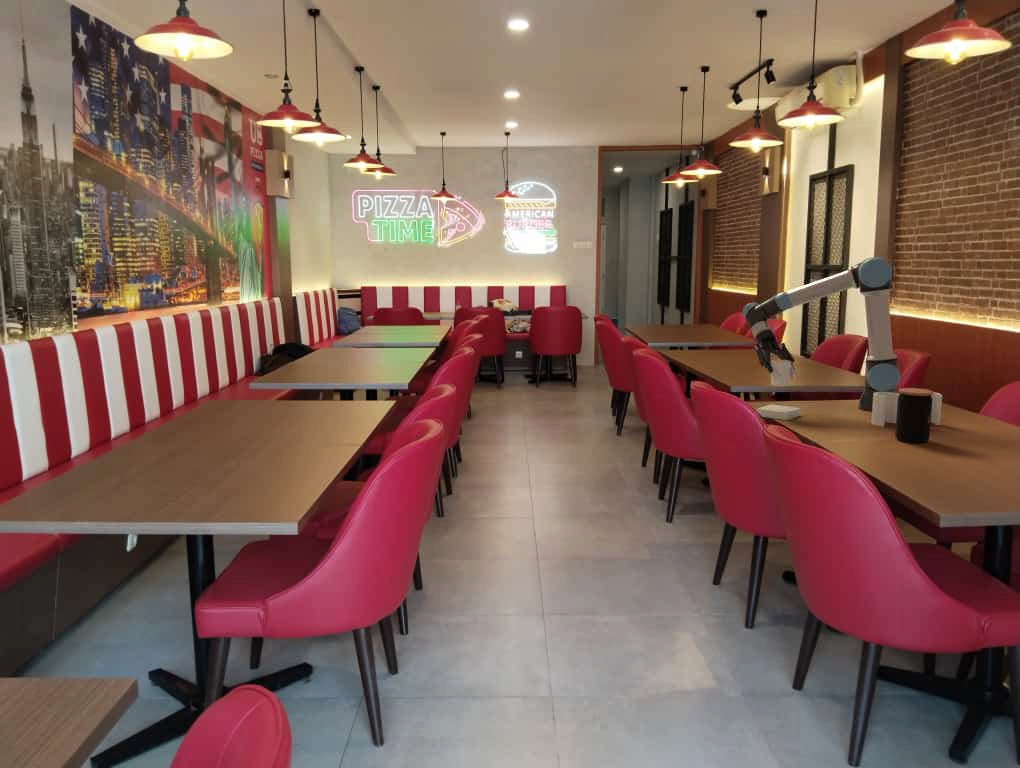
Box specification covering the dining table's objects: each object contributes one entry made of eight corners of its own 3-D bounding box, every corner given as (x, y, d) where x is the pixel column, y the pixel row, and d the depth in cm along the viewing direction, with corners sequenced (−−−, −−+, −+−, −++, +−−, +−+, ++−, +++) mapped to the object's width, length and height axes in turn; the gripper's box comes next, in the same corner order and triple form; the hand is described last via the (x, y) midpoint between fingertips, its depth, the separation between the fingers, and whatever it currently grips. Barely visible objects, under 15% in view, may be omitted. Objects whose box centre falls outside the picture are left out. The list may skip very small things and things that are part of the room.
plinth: (800, 415, 308) (800, 408, 307) (787, 420, 298) (787, 413, 298) (770, 411, 317) (770, 404, 316) (756, 415, 307) (756, 408, 307)
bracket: (928, 421, 295) (931, 391, 293) (943, 426, 286) (945, 395, 284) (866, 421, 295) (868, 391, 293) (878, 427, 285) (881, 396, 283)
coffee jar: (933, 444, 258) (938, 393, 255) (901, 443, 259) (904, 392, 256) (922, 437, 268) (926, 388, 265) (890, 436, 270) (894, 387, 267)
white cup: (791, 386, 301) (792, 362, 299) (771, 386, 303) (772, 362, 301) (788, 383, 309) (789, 359, 307) (768, 383, 310) (769, 359, 309)
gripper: (780, 339, 320) (802, 381, 307) (738, 340, 315) (759, 384, 302) (788, 327, 314) (811, 370, 302) (746, 329, 309) (767, 373, 296)
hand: (785, 377), depth 302 cm, fingers closed on white cup, 8 cm apart
